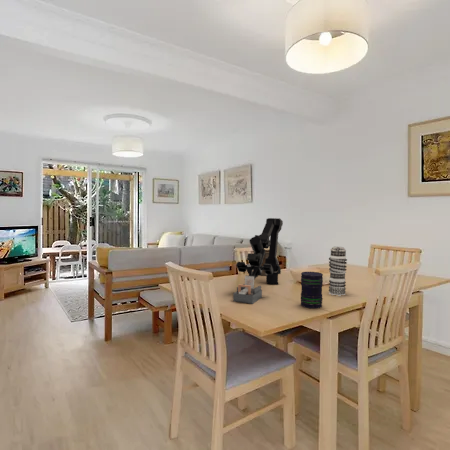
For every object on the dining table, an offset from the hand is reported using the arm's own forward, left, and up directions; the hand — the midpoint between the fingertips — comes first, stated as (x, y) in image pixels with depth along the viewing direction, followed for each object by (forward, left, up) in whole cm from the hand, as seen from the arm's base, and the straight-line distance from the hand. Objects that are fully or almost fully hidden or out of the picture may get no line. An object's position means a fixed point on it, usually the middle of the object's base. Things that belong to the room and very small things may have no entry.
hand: (250, 281), depth 165 cm
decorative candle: (-46, -14, -8) cm, 49 cm away
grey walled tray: (+1, +3, -8) cm, 9 cm away
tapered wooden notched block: (+2, +5, -4) cm, 7 cm away
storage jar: (-29, +9, -8) cm, 31 cm away
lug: (+3, +7, -4) cm, 8 cm away
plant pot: (-8, -63, -8) cm, 64 cm away
